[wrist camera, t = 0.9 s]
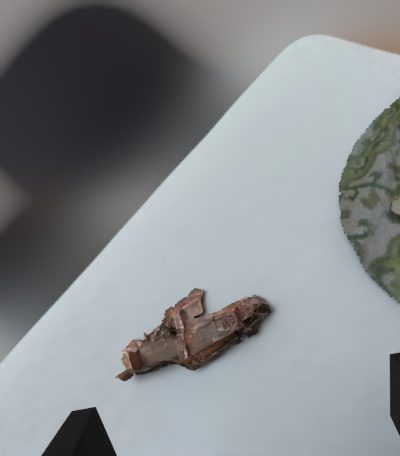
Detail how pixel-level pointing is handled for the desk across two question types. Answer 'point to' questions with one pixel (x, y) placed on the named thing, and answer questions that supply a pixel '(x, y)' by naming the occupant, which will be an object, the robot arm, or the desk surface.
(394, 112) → the seashell diorama
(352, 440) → the desk surface
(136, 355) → the tree bark
